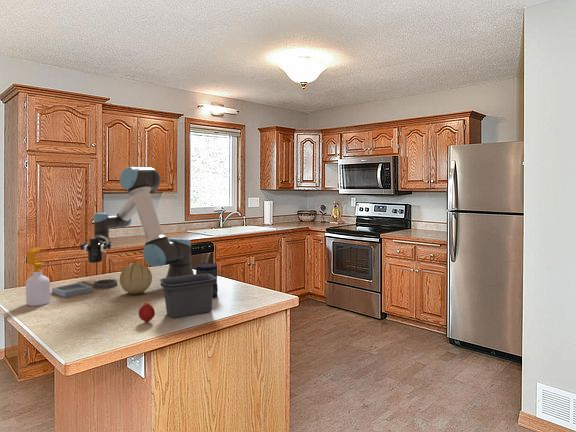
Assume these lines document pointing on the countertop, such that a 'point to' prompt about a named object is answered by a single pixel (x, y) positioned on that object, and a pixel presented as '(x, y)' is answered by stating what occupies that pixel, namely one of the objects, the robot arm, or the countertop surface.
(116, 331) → the countertop surface
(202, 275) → the storage bin
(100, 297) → the countertop surface
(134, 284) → the cantaloupe
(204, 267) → the storage jar
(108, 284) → the holster ring
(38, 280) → the soap bottle
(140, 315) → the pomegranate
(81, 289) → the tray
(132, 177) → the robot arm
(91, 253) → the supplement bottle
